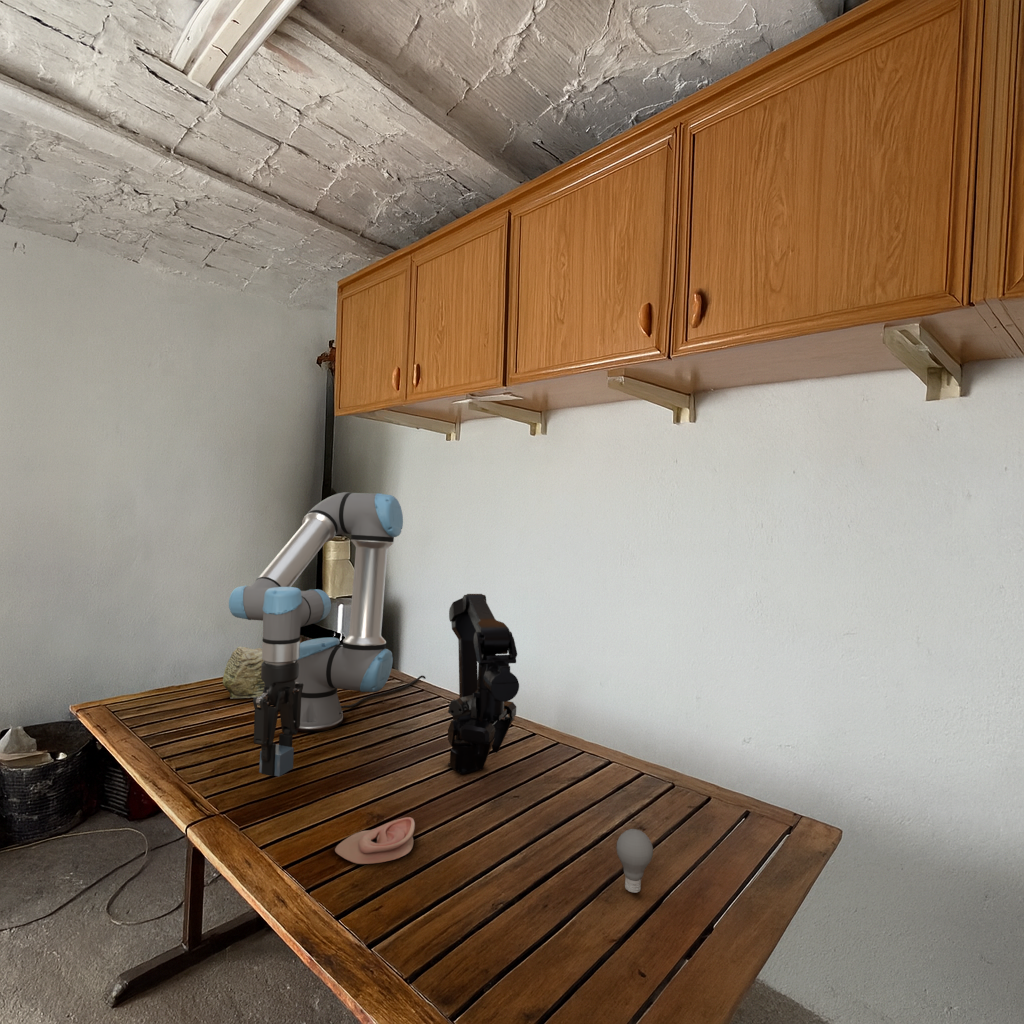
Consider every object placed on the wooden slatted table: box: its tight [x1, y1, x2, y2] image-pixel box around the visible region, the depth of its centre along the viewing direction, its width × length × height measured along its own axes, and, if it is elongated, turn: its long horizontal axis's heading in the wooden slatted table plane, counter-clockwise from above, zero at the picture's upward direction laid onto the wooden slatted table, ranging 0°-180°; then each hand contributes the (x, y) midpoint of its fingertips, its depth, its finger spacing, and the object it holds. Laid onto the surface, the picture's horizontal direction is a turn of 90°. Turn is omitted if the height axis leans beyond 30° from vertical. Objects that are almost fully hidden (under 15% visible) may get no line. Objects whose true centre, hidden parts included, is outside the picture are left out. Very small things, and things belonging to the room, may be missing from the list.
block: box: [258, 743, 295, 778], centre depth 135 cm, size 4×5×5 cm
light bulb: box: [615, 828, 654, 894], centre depth 106 cm, size 6×6×10 cm
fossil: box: [222, 646, 265, 699], centre depth 198 cm, size 9×18×15 cm, turn 132°
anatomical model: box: [334, 816, 416, 865], centre depth 115 cm, size 13×4×12 cm
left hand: (276, 769), depth 135 cm, fingers closed on block, 4 cm apart
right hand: (487, 760), depth 132 cm, fingers open, 9 cm apart
